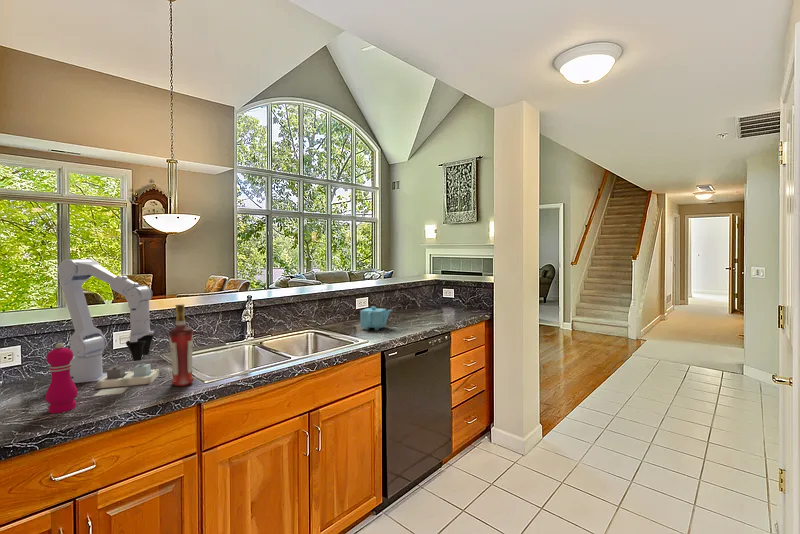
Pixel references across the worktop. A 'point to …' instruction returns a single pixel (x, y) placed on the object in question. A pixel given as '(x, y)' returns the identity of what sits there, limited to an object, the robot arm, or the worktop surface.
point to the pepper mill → (61, 381)
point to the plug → (142, 370)
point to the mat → (111, 391)
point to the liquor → (181, 350)
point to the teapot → (374, 318)
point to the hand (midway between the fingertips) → (141, 357)
